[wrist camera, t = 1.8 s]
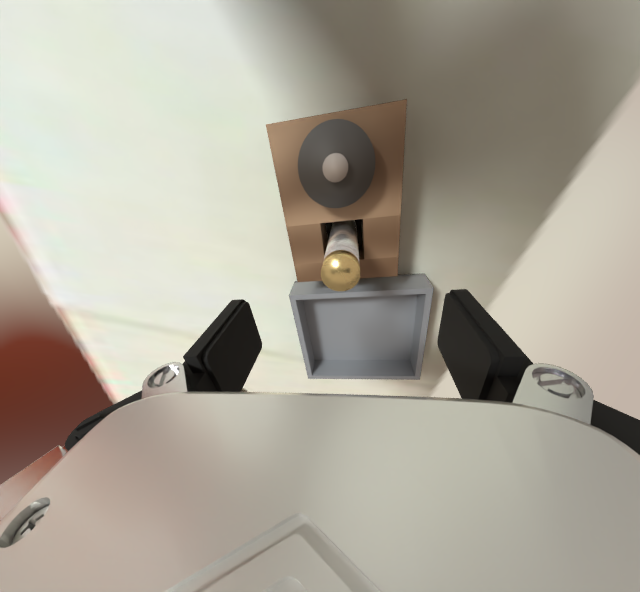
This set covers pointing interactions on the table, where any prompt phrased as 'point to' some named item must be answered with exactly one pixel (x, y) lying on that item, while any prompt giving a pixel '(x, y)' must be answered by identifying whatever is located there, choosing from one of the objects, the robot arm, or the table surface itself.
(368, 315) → the tray
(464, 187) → the table surface
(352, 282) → the lock pin
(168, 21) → the table surface
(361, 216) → the block
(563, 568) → the robot arm
